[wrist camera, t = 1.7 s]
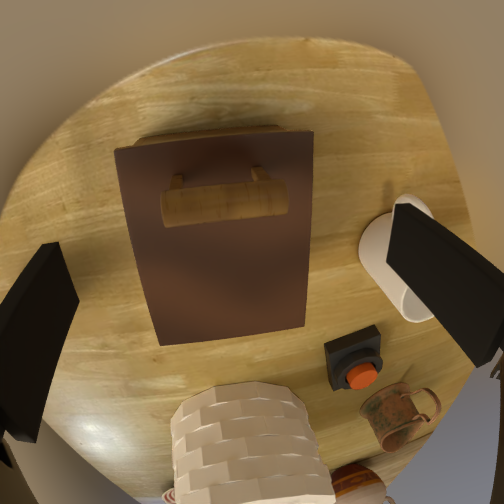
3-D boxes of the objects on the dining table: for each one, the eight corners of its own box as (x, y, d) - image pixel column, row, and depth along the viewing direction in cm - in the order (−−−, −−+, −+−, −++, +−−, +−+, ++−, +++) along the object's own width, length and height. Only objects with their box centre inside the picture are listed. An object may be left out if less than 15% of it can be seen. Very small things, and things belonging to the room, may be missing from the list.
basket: (155, 390, 43) (156, 508, 27) (313, 369, 46) (355, 477, 30) (185, 456, 55) (193, 537, 39) (299, 440, 58) (323, 517, 42)
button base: (323, 343, 43) (333, 363, 40) (374, 324, 44) (386, 342, 40) (328, 381, 49) (337, 399, 45) (373, 364, 49) (382, 381, 45)
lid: (116, 148, 18) (84, 176, 13) (309, 129, 20) (355, 149, 14) (160, 339, 27) (157, 401, 21) (301, 320, 28) (326, 376, 22)
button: (345, 368, 42) (350, 377, 40) (373, 357, 42) (378, 366, 40) (346, 384, 44) (350, 393, 43) (372, 374, 44) (376, 382, 43)
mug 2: (432, 358, 53) (462, 402, 43) (392, 412, 61) (413, 452, 51) (389, 365, 50) (420, 416, 40) (351, 420, 58) (370, 466, 48)
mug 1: (356, 184, 32) (411, 225, 23) (416, 175, 33) (477, 210, 24) (354, 277, 38) (395, 332, 30) (408, 262, 39) (454, 309, 30)
